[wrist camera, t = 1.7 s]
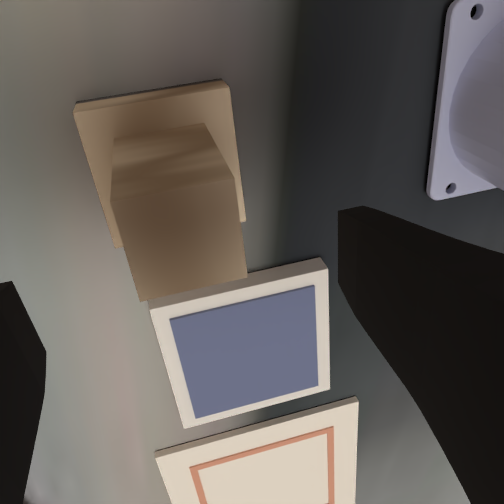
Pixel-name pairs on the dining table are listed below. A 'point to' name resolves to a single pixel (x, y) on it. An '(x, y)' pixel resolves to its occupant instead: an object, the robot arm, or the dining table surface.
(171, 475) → the mat
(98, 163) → the stamp
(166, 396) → the dining table surface
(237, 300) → the ink pad
